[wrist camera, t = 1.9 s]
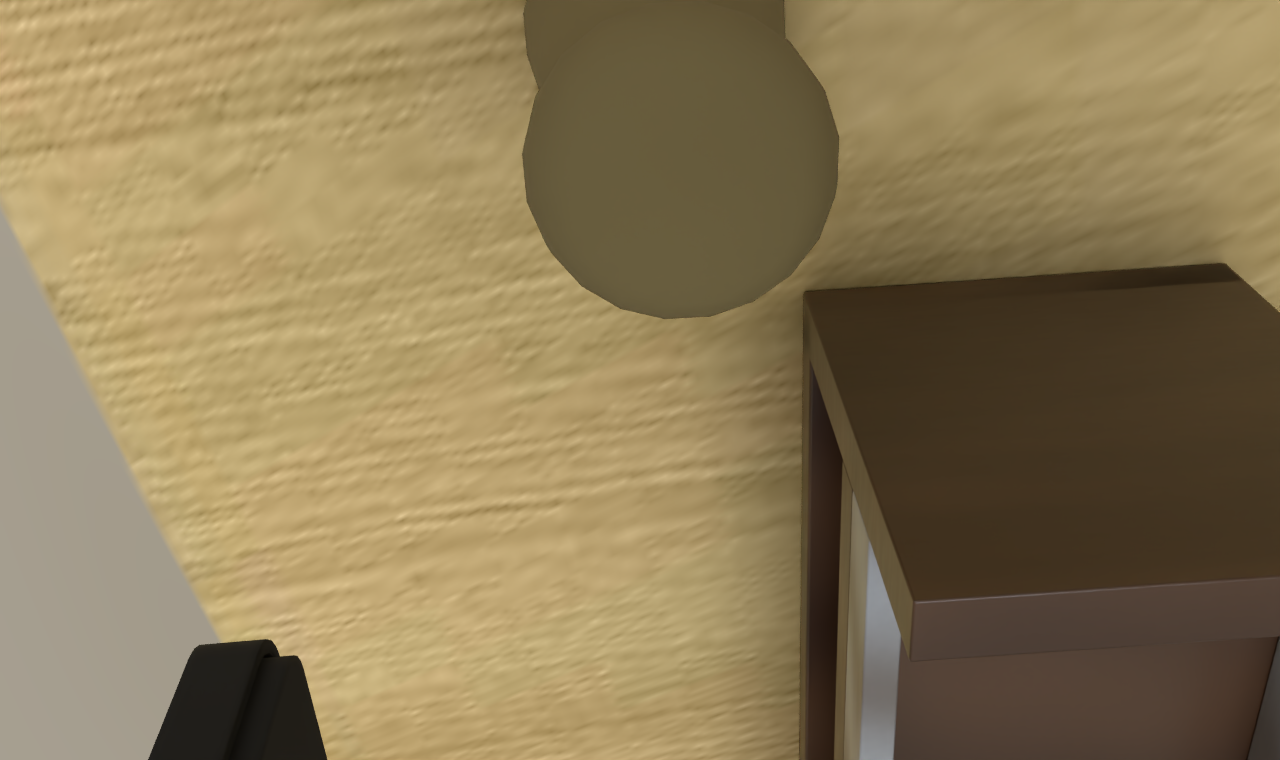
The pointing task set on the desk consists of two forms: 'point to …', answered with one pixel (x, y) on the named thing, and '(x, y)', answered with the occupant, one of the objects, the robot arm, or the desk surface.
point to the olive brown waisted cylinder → (675, 150)
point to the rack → (1042, 519)
